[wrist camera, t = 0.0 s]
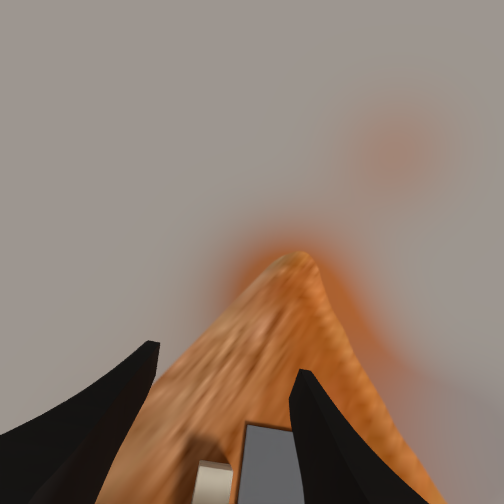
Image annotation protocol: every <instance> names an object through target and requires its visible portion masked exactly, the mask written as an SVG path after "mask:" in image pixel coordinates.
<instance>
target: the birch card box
mask: <svg viewBox="0 0 504 504" xmlns="http://www.w3.org/2000/svg"><path fill="white" fill-rule="evenodd" d="M232 476H233V470H232V467H231V465H230V464H224V463H217V462H211V461H204V460H200V461H199V466H198V471H197V476H196V481H195V486H194V491H193V496H192V501H191V504H229V497H230V490H231V483H232Z"/></svg>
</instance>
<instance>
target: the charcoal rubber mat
mask: <svg viewBox="0 0 504 504" xmlns="http://www.w3.org/2000/svg"><path fill="white" fill-rule="evenodd" d="M237 504H305V503H304V494H303V486H302V480H301V474H300V468H299V463H298V458H297V453H296V448H295V443H294V437H293V432H289V431H283V430H277V429H271V428H265V427H259V426H252V425H247V430H246V438H245V446H244V454H243V462H242V470H241V478H240V486H239V494H238V502H237Z"/></svg>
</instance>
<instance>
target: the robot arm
mask: <svg viewBox="0 0 504 504" xmlns="http://www.w3.org/2000/svg"><path fill="white" fill-rule="evenodd" d="M159 349H160V343H159V342H154V341H149V340H148V341H146V342H145V343H144V344H143V345H142V346H140V347H139V348H138V349H137V350H136V351H135V352H133V353H132V354H131V355H130V356H129V357H127V358H126V359H125V360H124V361H122V362H121V363H120V364H119V365H117V366H116V367H115V368H114V369H113V370H111V371H110V372H108V373H107V374H106V375H104V376H103V377H101V378H100V379H99V380H97V381H96V382H95V383H93V384H92V385H90V386H89V387H87V388H86V389H84V390H83V391H81V392H80V393H78V394H77V395H75V396H73V397H72V398H70V399H68V400H67V401H65V402H63V403H61V404H60V405H58V406H56V407H54V408H53V409H51V410H49V411H47V412H46V413H44V414H42V415H40V416H38V417H36V418H34V419H32V420H30V421H28V422H26V423H24V424H22V425H20V426H18V427H16V428H14V429H13V430H10V431H8V432H6V433H4V434H2V435H0V504H95V502H96V499H97V497H98V495H99V492H100V490H101V488H102V485H103V483H104V481H105V478H106V476H107V474H108V472H109V469H110V467H111V465H112V463H113V460H114V458H115V456H116V454H117V452H118V450H119V448H120V446H121V444H122V442H123V441H124V439H125V437H126V435H127V433H128V431H129V429H130V427H131V426H132V424H133V422H134V420H135V418H136V416H137V414H138V413H139V411H140V409H141V407H142V405H143V403H144V401H145V399H146V397H147V395H148V393H149V390H150V388H151V385H152V383H153V380H154V378H155V376H156V369H157V362H158V355H159ZM289 410H290V421H291V427H292V432H293V437H294V443H295V448H296V453H297V458H298V463H299V468H300V474H301V480H302V486H303V494H304V503H305V504H429V503H428V502H427V501H425V500H424V499H423V498H422V497H421V496H420V495H419V494H417V493H416V492H415V491H414V490H413V489H412V488H411V487H409V486H408V485H407V484H406V483H405V482H404V481H403V480H402V479H401V478H400V477H399V476H398V475H397V474H395V473H394V472H393V471H392V470H391V469H390V468H389V467H388V466H387V465H386V464H385V463H384V462H383V461H382V460H381V459H380V458H379V457H378V456H377V455H376V453H375V452H374V451H373V450H372V449H371V448H370V447H369V446H368V445H367V444H366V443H365V441H364V440H363V439H362V438H361V437H360V436H359V435H358V433H357V432H356V431H355V430H354V429H353V427H352V426H351V425H350V424H349V422H348V421H347V420H346V419H345V418H344V416H343V415H342V414H341V412H340V411H339V410H338V408H337V407H336V406H335V404H334V403H333V402H332V400H331V399H330V397H329V396H328V395H327V393H326V392H325V390H324V389H323V387H322V386H321V385H320V383H319V382H318V380H317V379H316V377H315V376H314V374H313V373H312V372H311V371H309V370H304V369H299V372H298V374H297V377H296V380H295V383H294V386H293V388H292V391H291V394H290V397H289Z"/></svg>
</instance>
